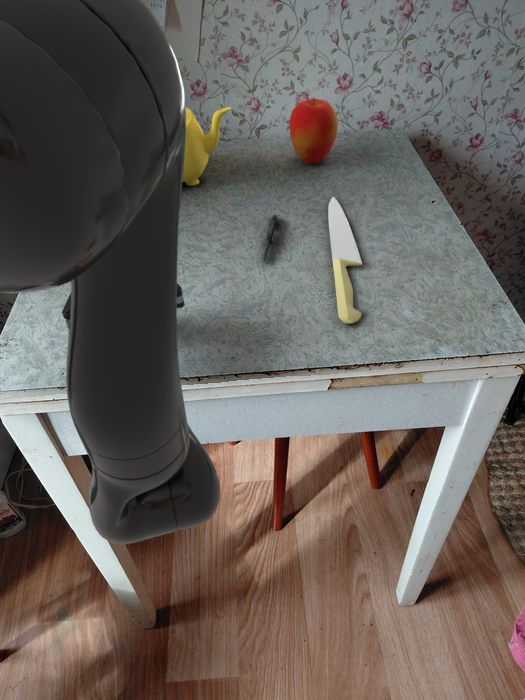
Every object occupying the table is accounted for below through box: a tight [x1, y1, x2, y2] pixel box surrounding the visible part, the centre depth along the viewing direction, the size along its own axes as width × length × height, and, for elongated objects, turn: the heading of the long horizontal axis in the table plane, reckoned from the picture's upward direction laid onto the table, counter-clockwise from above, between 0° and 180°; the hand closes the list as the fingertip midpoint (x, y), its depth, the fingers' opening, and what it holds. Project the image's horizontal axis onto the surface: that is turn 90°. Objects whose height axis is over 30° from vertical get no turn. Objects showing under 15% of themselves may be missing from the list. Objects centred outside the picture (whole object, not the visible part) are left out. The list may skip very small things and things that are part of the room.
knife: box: [327, 196, 363, 325], centre depth 82 cm, size 1×32×5 cm
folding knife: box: [263, 214, 278, 263], centre depth 84 cm, size 13×1×2 cm, turn 171°
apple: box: [288, 96, 339, 165], centre depth 100 cm, size 9×9×12 cm
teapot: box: [182, 106, 232, 186], centre depth 97 cm, size 14×20×13 cm
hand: (117, 260), depth 66 cm, fingers open, 4 cm apart
